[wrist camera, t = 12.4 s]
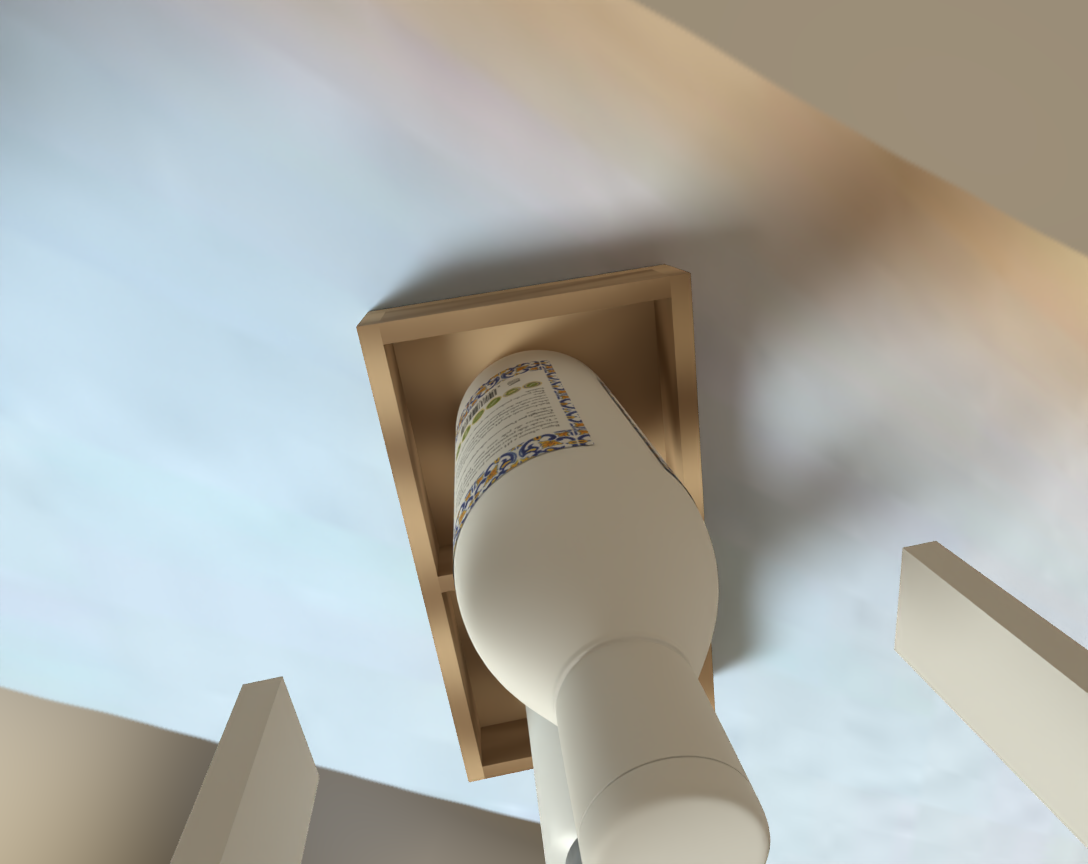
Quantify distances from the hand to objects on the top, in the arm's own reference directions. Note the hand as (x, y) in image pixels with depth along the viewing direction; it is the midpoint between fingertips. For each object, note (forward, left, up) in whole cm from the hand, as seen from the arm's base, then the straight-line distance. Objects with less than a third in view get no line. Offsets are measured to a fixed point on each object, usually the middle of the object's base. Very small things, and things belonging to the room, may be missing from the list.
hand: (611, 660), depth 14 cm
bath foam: (0, 0, -16) cm, 16 cm away
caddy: (+5, -3, -17) cm, 18 cm away
